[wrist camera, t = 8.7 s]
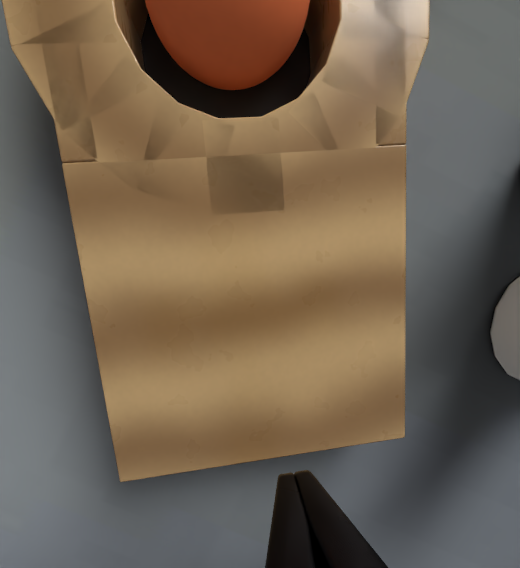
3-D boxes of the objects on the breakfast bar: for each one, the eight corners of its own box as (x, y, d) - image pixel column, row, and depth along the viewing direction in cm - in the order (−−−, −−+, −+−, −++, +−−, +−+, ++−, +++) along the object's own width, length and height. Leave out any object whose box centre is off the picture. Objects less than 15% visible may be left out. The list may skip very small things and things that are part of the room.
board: (381, 392, 21) (423, 435, 17) (126, 428, 19) (97, 486, 15) (376, -126, 16) (434, -265, 11) (28, -140, 14) (-62, -311, 10)
